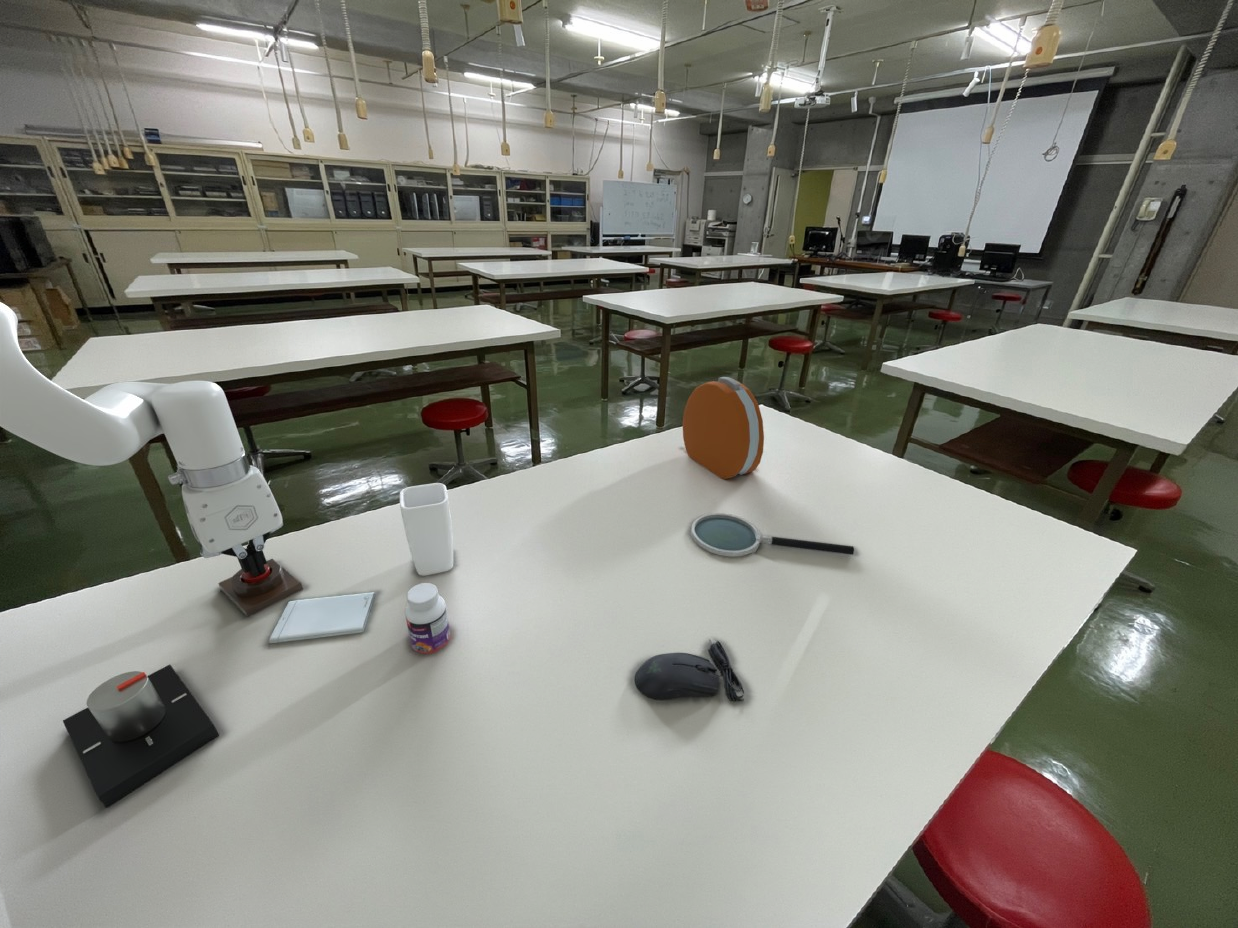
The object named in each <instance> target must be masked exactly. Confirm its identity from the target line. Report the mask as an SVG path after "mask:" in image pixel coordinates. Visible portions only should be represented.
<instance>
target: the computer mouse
mask: <svg viewBox="0 0 1238 928" xmlns="http://www.w3.org/2000/svg"><path fill="white" fill-rule="evenodd" d="M708 642H709V644H710V646H709V648H708V649H707V652H708V655H709V656H710V658H711V660H712V662H713V663H711V661H710V660H709V659H708V658H705V657H702V656H699V655H696V654H692V653H687V652H668V653H667V652H666V653H661V654H656V655H654V656H652V657H650V658H648V659H647V660H645V661H644V662H643V663H642V664H641V665H640V667H639V668H638V669H637V671H636V672H635V674H634V685H635V688H636V689H637V690H638V691H639V692H640V693H641V694H642V695H643V696H645V697H646V698H648V699H651V700H655V701H668V700H674V699H676V700H677V699H682V698H709V697H713V696H715V695H716V694H717V692H718V691H719V689H720V680H721V679H720V677H722V678H723V682H724V685H723V687H724V691H725V695H726V697H727V699H729V701H730V702H734V703H735V702H744V700H745V699H744V698H743V697H744V695H745V691H744V687H743V684H742V682H741V681H740V679H739V677H738V676H737V675H736V672H735V671H734V668H732V666H731V664H730V663H731V662H730V660H729V656H728V654H727V652H726V650H725V648H724V647H723V645H722V643H721V642H720V641H719V640H716V639H713V638H711V637H710V638H709V639H708ZM718 671H719V673H720V674H721V675H719V674H716V672H718ZM734 685H735V686H736V687H739V689H737V688H735V687H734ZM741 691H742V695H738V694H737V693H740V692H741Z"/></svg>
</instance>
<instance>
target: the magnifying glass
mask: <svg viewBox="0 0 1238 928" xmlns="http://www.w3.org/2000/svg"><path fill="white" fill-rule="evenodd" d="M690 529H691V530H690V534H691V537H692V540H693V541H694V542H695V543H696V545H698V546H699V547H700V548H702V549H704V550H705V551H707V552H710V553H711V554H715V555H718V556H723V557H733V558H734V557H742V556H747V555H749V554H755V553H756V552H757V551H758V549H759V548H760V544H767V545H772V546H780V547H788V548H796V549H803V550H804V549H805V550H813V551H821V552H827V553H837V554H844V555H845V554H846V555H851V556H852V555H854V553H855V547H854V545H853V546H852V545H844V544H837V543H827V542H819V541H812V540H811V541H810V540H803V539H796V538H787V537H780V536H779V537H778V536H766V535H765V536H764V535H761V532H760V530H759V529H758V528H757V527H756V526H755V525H754V524H753V523H751V521H749V520H747V519H745V518H743V517H741V516H738V515H734V514H730V513H725V512H724V513H723V512H712V513H706V514H702V515H701V516H699V517H697V518H696V519H695V520H693V522H692V524H691V528H690Z"/></svg>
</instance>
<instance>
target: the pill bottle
mask: <svg viewBox="0 0 1238 928" xmlns="http://www.w3.org/2000/svg"><path fill="white" fill-rule="evenodd" d="M406 599H407V604H406V607H405V609H404V616H405V621H406V626H407V631H408V636H409V640H410V645H411V647H412V649H413V650H414V651H415V652H417V653H420V654H430V653H434V652H437V651H439V650H441V649H442V648H444V647H445V646H446V645H447V644H448V642H449V641H450V640H451V639H450V638H451V631H450V624H449V617H448V612H447V605H446V601H445V600H444V598H443V597H442V596H441V595H440V594H439V591H438V587H437V586H436V585H435V584H433V583H430V582H422V583H418V584H416V585H414V586H413V587H411V588H410V589H409V590H408V592H407V593H406Z"/></svg>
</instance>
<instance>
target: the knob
mask: <svg viewBox="0 0 1238 928" xmlns="http://www.w3.org/2000/svg"><path fill="white" fill-rule="evenodd" d="M86 708H89V710H90V711H91V713H92V714H93V716H94V717H95V719H96V720H97V721H98V723H99V724H100V726H101V727H102V729H103V730H104V732H105V733H106V734H107V736H108V737H109V739H110V740H111V741H113V742H127V741H131V740H134V739H136V738H139V737H141V736H143V735H144V734H146V733H148V732H149V731H151V730H152V729H153V728H154V727H156V726H157V725H158V724H159V723H160V722H161V720H162V719H163V717H164V715H165V713H166V708H165V706H164V704H163V702H162V701H161V699H160V697H159V695H158V694H157V692H156V690H155V688H154V687H153V685H152V683H151V682H150V680H149V678H148V675H147V674H146V673H145V671H140V670H134V671H127V672H124V673H120V674H117V675H115V676H113V677H111V678H108V679H107V680H105V681H104V682H102V683H101V684H100V685H98V686H97V687H95V689H94V690H93V691H92V692H91V693H90V694H89V695H88V697H87V699H86Z"/></svg>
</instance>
